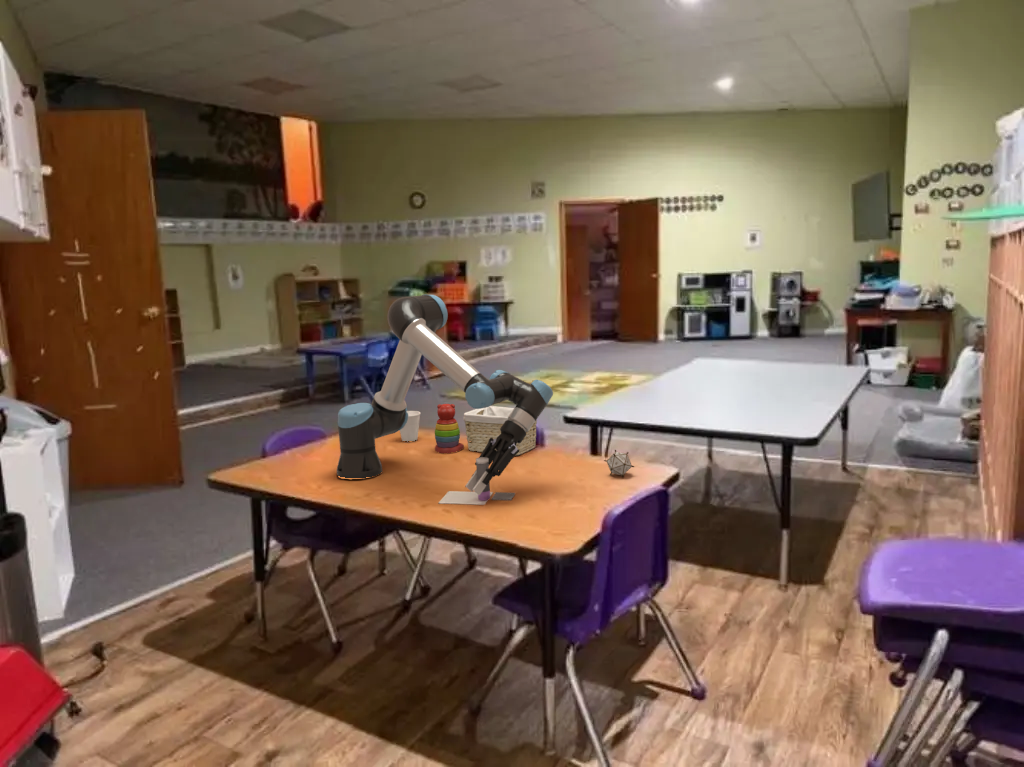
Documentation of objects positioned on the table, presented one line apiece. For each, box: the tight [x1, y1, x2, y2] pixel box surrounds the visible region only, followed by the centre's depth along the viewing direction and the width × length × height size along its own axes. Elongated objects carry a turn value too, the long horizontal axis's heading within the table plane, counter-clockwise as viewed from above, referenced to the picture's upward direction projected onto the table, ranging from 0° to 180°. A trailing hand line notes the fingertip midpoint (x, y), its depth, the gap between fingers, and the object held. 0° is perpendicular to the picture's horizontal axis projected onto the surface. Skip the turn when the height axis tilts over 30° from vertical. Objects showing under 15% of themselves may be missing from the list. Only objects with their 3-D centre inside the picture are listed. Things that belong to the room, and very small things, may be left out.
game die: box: [603, 449, 635, 478], centre depth 240 cm, size 9×8×10 cm
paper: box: [438, 490, 494, 506], centre depth 224 cm, size 14×11×1 cm
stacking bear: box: [434, 403, 465, 454], centre depth 279 cm, size 11×10×18 cm
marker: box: [475, 457, 491, 501], centre depth 220 cm, size 4×4×12 cm
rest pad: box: [490, 491, 516, 501], centre depth 224 cm, size 6×6×1 cm
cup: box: [399, 410, 422, 443], centre depth 297 cm, size 10×10×11 cm
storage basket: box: [462, 405, 538, 456], centre depth 278 cm, size 24×16×15 cm
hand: (472, 490), depth 219 cm, fingers closed on marker, 3 cm apart
